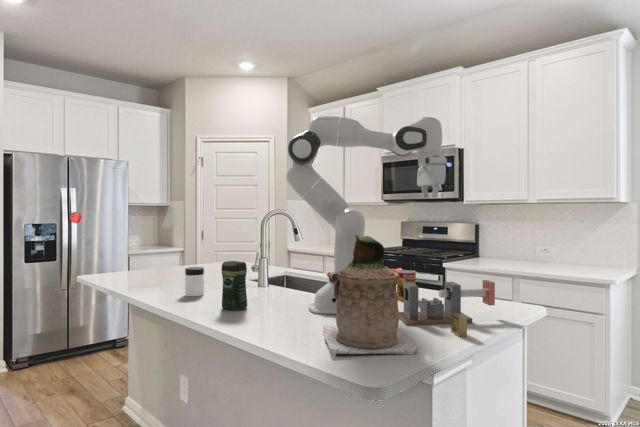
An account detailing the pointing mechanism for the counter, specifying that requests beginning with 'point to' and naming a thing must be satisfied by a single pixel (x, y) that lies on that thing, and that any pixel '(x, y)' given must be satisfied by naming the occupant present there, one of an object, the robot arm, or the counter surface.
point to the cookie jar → (367, 306)
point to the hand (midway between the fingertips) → (430, 197)
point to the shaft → (476, 292)
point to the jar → (194, 281)
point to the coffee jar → (234, 285)
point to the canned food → (404, 281)
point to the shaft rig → (431, 306)
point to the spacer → (459, 324)
